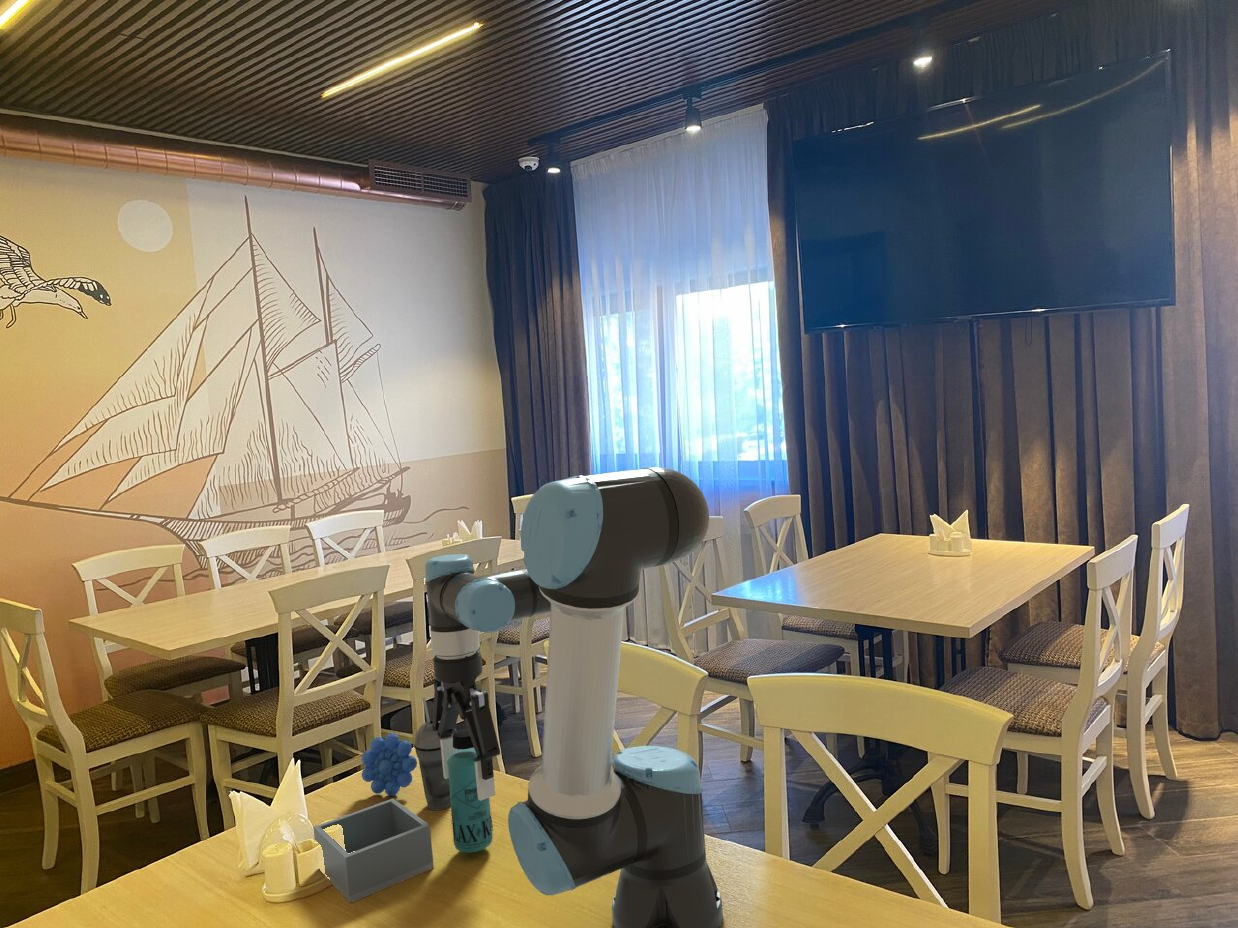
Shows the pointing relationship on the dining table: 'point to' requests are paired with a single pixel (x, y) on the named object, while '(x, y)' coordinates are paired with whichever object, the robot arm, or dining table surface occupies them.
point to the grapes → (388, 764)
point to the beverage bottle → (467, 798)
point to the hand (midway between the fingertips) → (468, 786)
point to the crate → (375, 849)
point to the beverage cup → (432, 765)
